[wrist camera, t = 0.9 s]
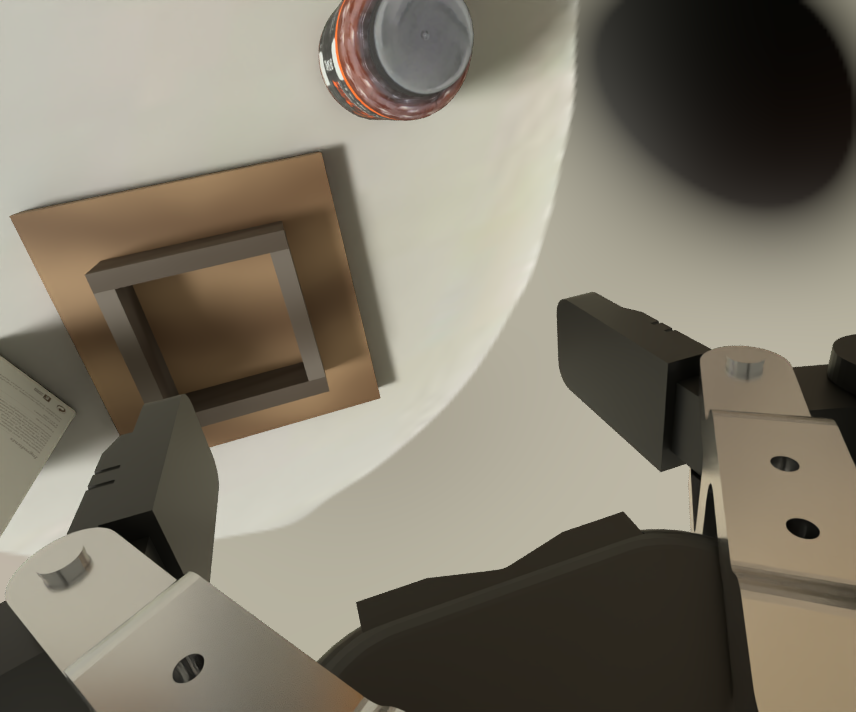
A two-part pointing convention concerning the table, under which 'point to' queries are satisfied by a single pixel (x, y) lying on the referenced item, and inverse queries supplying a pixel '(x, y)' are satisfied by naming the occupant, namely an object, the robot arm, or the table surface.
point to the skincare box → (25, 434)
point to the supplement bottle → (396, 56)
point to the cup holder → (210, 296)
